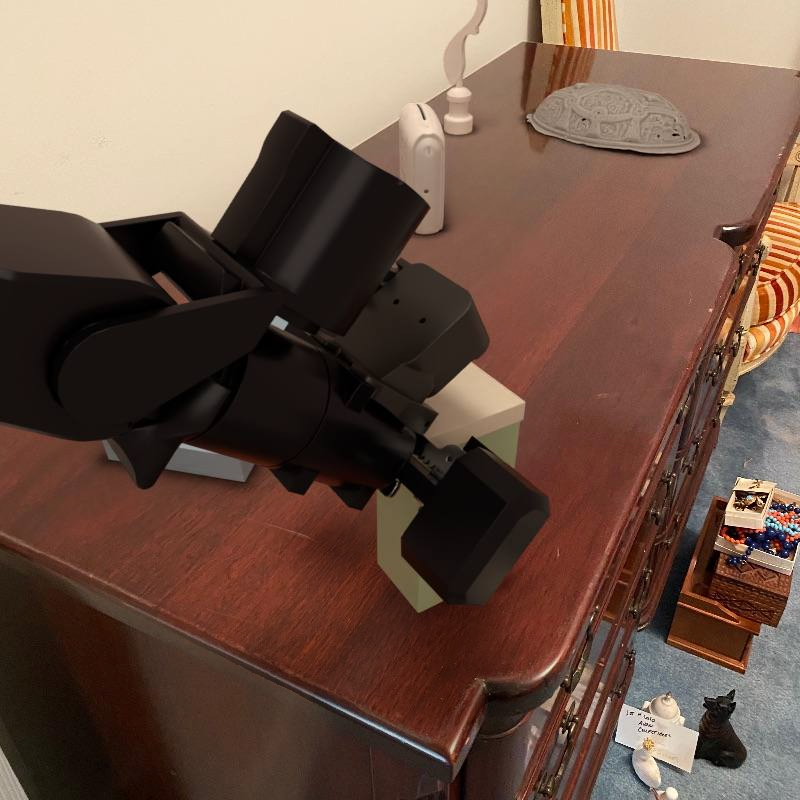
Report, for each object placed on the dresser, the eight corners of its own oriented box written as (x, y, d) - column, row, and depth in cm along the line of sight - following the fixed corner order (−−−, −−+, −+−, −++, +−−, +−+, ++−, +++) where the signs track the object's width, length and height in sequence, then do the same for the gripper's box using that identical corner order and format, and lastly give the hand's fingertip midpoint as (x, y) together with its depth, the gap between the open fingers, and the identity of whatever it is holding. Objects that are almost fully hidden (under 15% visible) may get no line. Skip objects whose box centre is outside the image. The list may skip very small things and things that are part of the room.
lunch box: (417, 615, 45) (423, 440, 38) (374, 563, 49) (372, 393, 41) (504, 572, 48) (526, 401, 41) (458, 525, 52) (470, 360, 44)
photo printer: (447, 234, 85) (450, 123, 77) (409, 237, 85) (408, 126, 77) (431, 195, 93) (433, 91, 85) (397, 197, 93) (395, 93, 85)
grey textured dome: (677, 161, 98) (688, 106, 94) (506, 133, 110) (510, 83, 106) (713, 136, 108) (724, 86, 105) (554, 113, 121) (558, 67, 117)
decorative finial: (436, 131, 110) (439, -71, 94) (450, 122, 112) (454, -76, 96) (473, 138, 107) (482, -68, 91) (485, 128, 110) (497, -73, 94)
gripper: (543, 347, 26) (678, 449, 38) (274, 173, 38) (442, 293, 50) (362, 603, 27) (547, 623, 39) (157, 359, 39) (348, 432, 51)
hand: (464, 473), depth 45 cm, fingers closed on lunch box, 5 cm apart
